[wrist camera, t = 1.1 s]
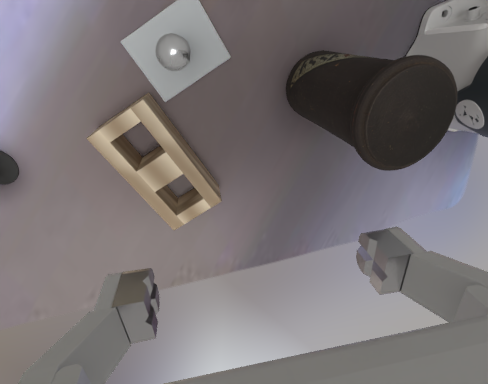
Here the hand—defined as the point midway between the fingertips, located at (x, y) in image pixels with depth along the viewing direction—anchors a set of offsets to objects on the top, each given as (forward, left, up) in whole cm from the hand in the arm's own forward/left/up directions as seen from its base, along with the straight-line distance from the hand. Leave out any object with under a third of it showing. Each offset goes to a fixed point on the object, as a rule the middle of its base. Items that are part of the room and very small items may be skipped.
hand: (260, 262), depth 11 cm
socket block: (+10, +2, -31) cm, 33 cm away
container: (-13, +5, -31) cm, 34 cm away
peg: (0, -8, -31) cm, 31 cm away
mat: (0, -8, -31) cm, 32 cm away
